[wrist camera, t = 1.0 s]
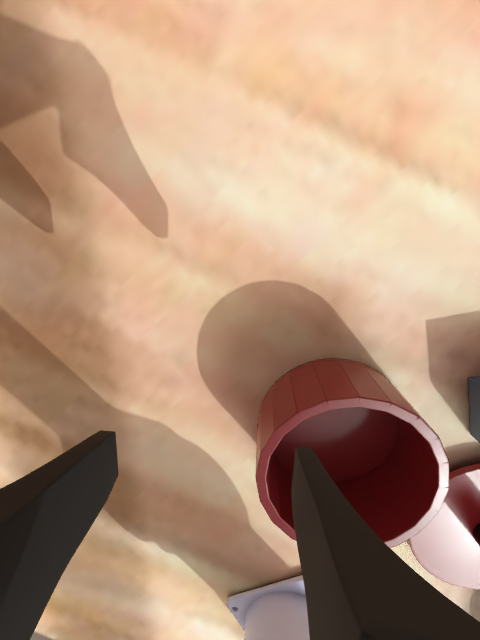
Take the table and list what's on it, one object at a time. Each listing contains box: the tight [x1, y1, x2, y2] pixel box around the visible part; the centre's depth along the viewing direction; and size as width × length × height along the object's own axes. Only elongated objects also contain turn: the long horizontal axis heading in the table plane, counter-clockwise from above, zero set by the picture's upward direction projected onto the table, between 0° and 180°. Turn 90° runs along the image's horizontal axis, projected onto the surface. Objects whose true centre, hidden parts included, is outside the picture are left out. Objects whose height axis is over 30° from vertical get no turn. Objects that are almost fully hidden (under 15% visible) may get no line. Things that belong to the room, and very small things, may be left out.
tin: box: [256, 359, 449, 548], centre depth 20 cm, size 10×10×5 cm
